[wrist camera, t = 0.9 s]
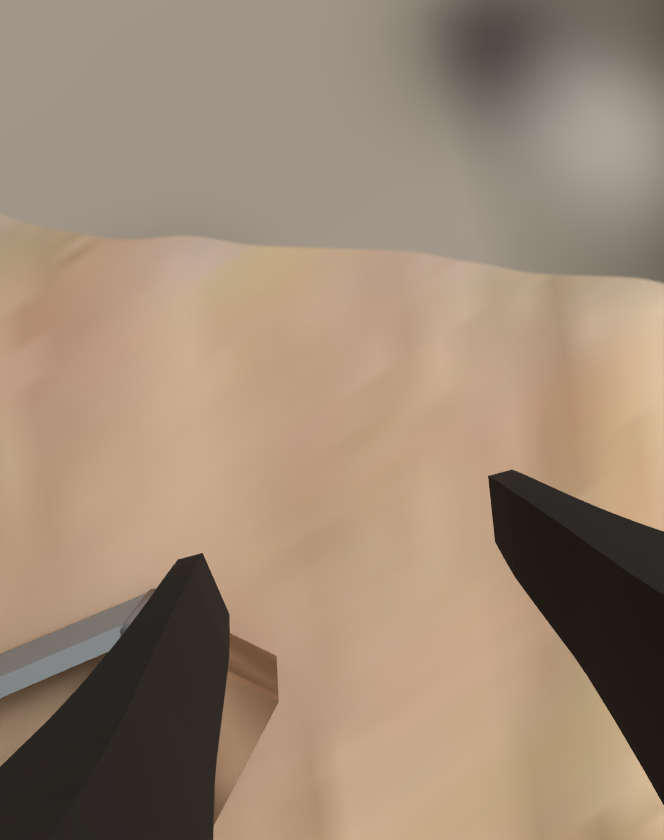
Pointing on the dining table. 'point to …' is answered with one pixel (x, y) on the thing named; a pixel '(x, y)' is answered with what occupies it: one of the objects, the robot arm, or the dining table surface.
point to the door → (67, 646)
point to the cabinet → (243, 712)
